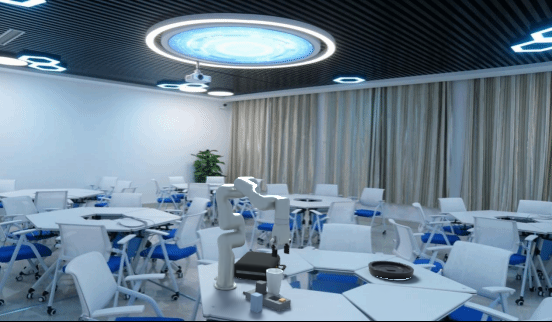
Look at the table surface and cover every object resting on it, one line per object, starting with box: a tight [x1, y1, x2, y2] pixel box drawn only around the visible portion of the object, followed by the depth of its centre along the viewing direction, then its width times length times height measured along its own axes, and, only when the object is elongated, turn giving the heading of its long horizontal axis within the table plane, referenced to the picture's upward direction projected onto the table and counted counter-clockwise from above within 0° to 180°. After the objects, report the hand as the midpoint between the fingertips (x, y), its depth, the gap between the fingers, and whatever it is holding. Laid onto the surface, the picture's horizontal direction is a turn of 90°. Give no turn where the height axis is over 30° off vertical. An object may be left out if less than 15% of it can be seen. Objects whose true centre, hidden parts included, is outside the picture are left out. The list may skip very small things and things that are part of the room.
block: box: [249, 292, 263, 314], centre depth 196 cm, size 4×4×8 cm
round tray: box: [368, 260, 415, 279], centre depth 267 cm, size 30×6×30 cm
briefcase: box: [234, 250, 287, 282], centre depth 258 cm, size 36×32×10 cm
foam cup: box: [266, 268, 284, 296], centre depth 220 cm, size 10×9×13 cm
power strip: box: [242, 280, 291, 312], centre depth 209 cm, size 30×9×10 cm, turn 50°
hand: (280, 255), depth 197 cm, fingers open, 9 cm apart
